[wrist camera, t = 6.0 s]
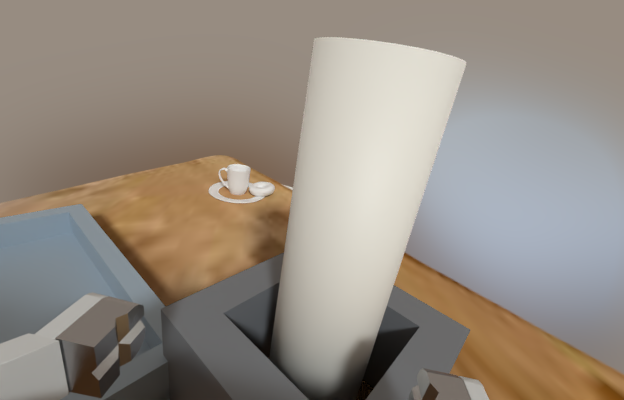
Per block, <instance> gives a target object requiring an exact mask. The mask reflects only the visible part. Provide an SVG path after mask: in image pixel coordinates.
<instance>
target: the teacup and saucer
mask: <svg viewBox="0 0 624 400" xmlns="http://www.w3.org/2000/svg"><path fill="white" fill-rule="evenodd" d="M221 170H225V171H226V172H227V179H228V181H225V182H224V181H223V179H222V177H221V174H220V172H221ZM219 177H220V180H221V181H222V182H219V183H216V184H214V185H212V186H211V187H210V188H209V193H210V195H211V196H213V197H214V198H216V199H219V200H222V201H225V202H231V203H252V202H256V201H259V200H261V199H263V198H264V197H265V196H268V195H270V194H272V193H273V192H274V190H275V187H274V185H273V184H272V183H269V182H257V183H254V184H252V183H249V177H250V167H248V166H245V165H240V164H232V165H229V166H228V167H227V168H222V169H220V170H219ZM224 186H226V187H227V188H228V189H229V191H230V193H231V194H234V195H243V194H245V192H246V191H247V188H248V187H249V191H250V193H251V194H252V195H254V196H255V197H254V198H251V199H246V200H235V199H229V198H226V197H223V196H221V195H220V194H219V192H218V190H219V189H220V188H221V187H224ZM284 186H286V185H284ZM286 187H287V188H289V189H291V190H293V187H290V186H286Z"/></svg>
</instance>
